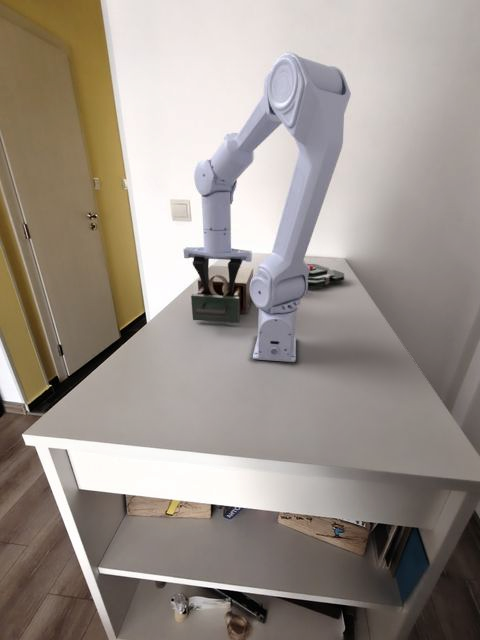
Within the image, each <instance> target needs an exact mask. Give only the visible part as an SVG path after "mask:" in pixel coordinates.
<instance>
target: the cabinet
mask: <svg viewBox="0 0 480 640" xmlns="http://www.w3.org/2000/svg"><path fill="white" fill-rule="evenodd" d="M208 274H209V280H210V278H211V277H213V276H216V275H221V276H223V277H224V278H225V279H226V280H227V281H228V282H227V283H229V271H228V265H227V266H226V265H225V266H224V265H210V266H209V269H208ZM253 277H254V267H243V266H240V268H239V270H238V273H237V276H236V279H235V283H234V286H243V304H242V307H241V309H240V312H239V314H247V313H248V309H249V306H250V303H251V301H252V298H251V296H250V282H251V279H252V278H253ZM213 285H224V284H223V281H222V280H221V279H220V278H218V277H214V278H213ZM202 286H203V284H202V281H201V279H200V278H198V280H197V290H198V291H197V293H198V292H199V290H200V289H201V288H202Z"/></svg>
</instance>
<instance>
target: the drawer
mask: <svg viewBox="0 0 480 640" xmlns="http://www.w3.org/2000/svg"><path fill="white" fill-rule="evenodd" d="M213 288H214V291H215V292H216V294H218V295H220V296H217V295H212V293H211V292H210V290H208V292H204V288H203V286H202V288H201V289H200V290H199V292H198V291H197V293H192V294H191V295H190V300H191V312H192V313H191V314H192V321H201V322H213V323H214V322H216V323H230V324H239V323H240V313H239V312H240V309H241V307H242V304H243V286H234V291H233V293H229V292H228V294H227V295H226V296H223V295H224V293H223V291H222V288H223V285H213Z"/></svg>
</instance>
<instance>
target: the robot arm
mask: <svg viewBox="0 0 480 640" xmlns="http://www.w3.org/2000/svg"><path fill="white" fill-rule="evenodd" d="M351 95H352V93H351V89H350V87H349V85H348V82H347V80H346V77H345V75H344V72H343V71H342V70H341V69H340V68H338V67H337V66H333V65H332V66H331V65H326V64H323V63H320V62H318V61H317V62H316V61H313V60H311V59H307V58H304V57H301V56H299V55H298V54H297V53H294V52H291V51H289V52H284V53H282V54H281V55H280V56H278V57H277V59H276V60H275V62H274V63H273V65H272V67H271V70H269V71H268V73H267V74H266V75H265V76H264V81H263V94H262V95H261V97H260V98H259V100H258V102H257V104H256V105H255V106H254V108H253V110H252V111H251V113H250V115H249V116H248V118H247V119H246V120H245V122H244V124H243V126H242V127H241V129H240V130H239V132H231V133H226V134H225V136H224V138H223V141H222V143H220V146H219V147H218V148H217V149H216V151H215V152H214V153H213V155H212V156H211V157H210V159H206V160H199V161H198V162H197V164H196V166H195V169H194V175H193V176H194V177H193V178H194V185H195V188H196V190H197V192H198V193H199V194H200V195H201V213H202V229H203V230H202V231H203V234H202V235H203V246H197V247H193V246H192V247H190V246H185V247H184V248H183V258H184V259H193V261H192V267H193V268H194V269H195V271H196V272H197V274H198V276H199V279H201V281H202V284H203V288H204V292H208V290H209V286H208V285H209V274H208V269H209V267H210V266H209V265H210V263H209V262H210V260H223V261H224V260H225V261H226V260H227V261H229V262H228V263H227V266H228V271H229V293H233V291H234V283H235V279H236V276H237V273H238V270H239V268H240V267H242V263H243V262H247V263H251V262H252V259H253V251H252V250H245V249H239V248H232V218H231V217H232V212H231V210H232V209H231V207H232V206H231V205H232V204H233V202H234V193H235V191H236V189H237V185H238V184H237V183H238V179H239V178H240V177H241V176H242V175H243V173H245V171H246V170H247V169H248V168H249V167H250V166H251V165H252V164H253V162H254V160H255V150H256V149H257V148H258V147H259V146H260V145H261V144H262V143H263V142H264V141H266V140H267V138H268V137H270V136H271V134H273V133H274V131H276V130H277V129H279V127H280V126H282V124H283V126H284V127H285V129H286V130H287V131H288V132H289V134H290V135H291V136H292V137H293V138H294V141H295V143H296V145H297V148H298V154H297V158H296V161H295V165H294V169H293V173H292V177H291V180H290V184H289V187H288V191H287V195H286V199H285V203H284V206H283V209H282V212H281V217H280V221H279V225H278V228H277V232H276V235H275V239H274V244H273V246H272V252H271V253H270V254H268V256H267V257H265V258H264V259H263V260H262V261H261V262H260V263H259V264H258V266H257V270H256V272H255V274H253V278H252V279H251V282H250V296H251V301H252V302H253V304H254V305H255V307H256V308H257V309H258V318H257V319H258V321H257V322H258V323H257V324H258V325H257V337H256V342H255V346H254V349H253V353H252V359H253V360H260V361H261V360H262V361H272V362H273V361H275V362H287V363H295V362H296V359H297V357H296V356H297V355H296V354H297V352H296V351H297V338H296V325H297V314H298V306H300V305H301V299H303V298H305V296H306V295H307V292H308V289H309V286H308V275H309V272H310V268H309V267H308V265H307V264H308V263H307V262H306V261H305V257H306V254H307V251H308V249H309V245H310V242H311V239H312V236H313V234H314V231H315V227H316V225H317V222H318V219H319V216H320V213H321V210H322V207H323V205H324V201H325V198H326V197H327V192H328V190H329V187H330V184H331V181H332V179H333V175H334V172H335V170H336V166H337V164H338V161H339V158H340V155H341V152H342V149H343V144H344V129H345V128H344V127H345V113H346V111H347V108H348V105H349V101H350V98H351ZM306 263H307V264H306Z"/></svg>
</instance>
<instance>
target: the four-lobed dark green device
mask: <svg viewBox="0 0 480 640" xmlns="http://www.w3.org/2000/svg"><path fill="white" fill-rule="evenodd" d="M306 264H307V265H308V267H309V268H310V272H309V275H308V288H309V287H310V288H318V287H321V286H325V285H329V284H330V283H339V282H342V281H344V280H345V273H344V272H342V271H339V270H336V269H330V268H329V267H328V266H323V265H320V264H317V263H307V262H306Z"/></svg>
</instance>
